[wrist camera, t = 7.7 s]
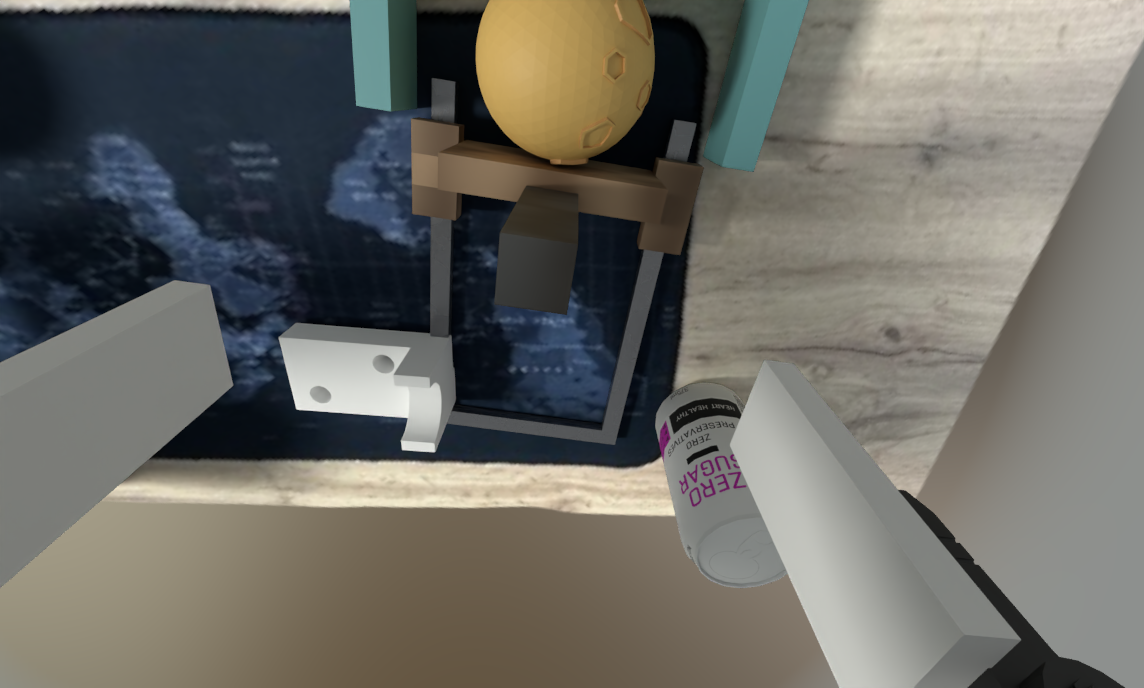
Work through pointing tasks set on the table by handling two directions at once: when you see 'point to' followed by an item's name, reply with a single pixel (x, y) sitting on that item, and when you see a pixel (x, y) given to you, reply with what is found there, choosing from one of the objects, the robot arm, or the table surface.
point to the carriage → (546, 205)
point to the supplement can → (714, 488)
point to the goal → (740, 111)
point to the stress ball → (565, 73)
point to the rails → (633, 328)
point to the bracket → (374, 376)
